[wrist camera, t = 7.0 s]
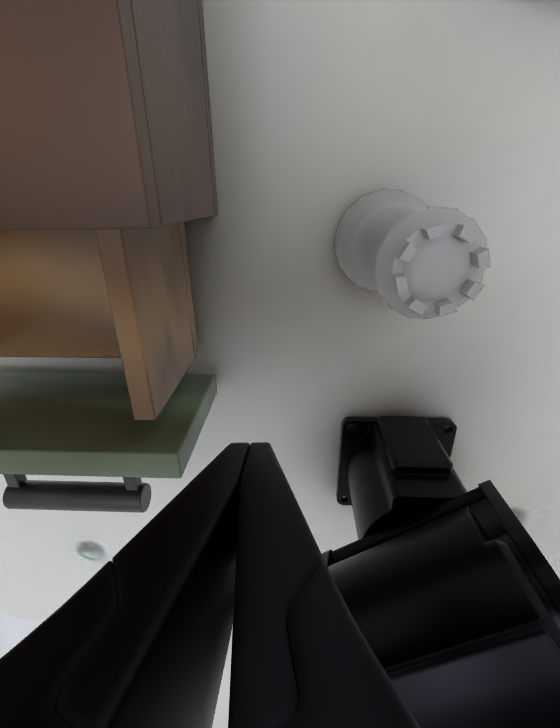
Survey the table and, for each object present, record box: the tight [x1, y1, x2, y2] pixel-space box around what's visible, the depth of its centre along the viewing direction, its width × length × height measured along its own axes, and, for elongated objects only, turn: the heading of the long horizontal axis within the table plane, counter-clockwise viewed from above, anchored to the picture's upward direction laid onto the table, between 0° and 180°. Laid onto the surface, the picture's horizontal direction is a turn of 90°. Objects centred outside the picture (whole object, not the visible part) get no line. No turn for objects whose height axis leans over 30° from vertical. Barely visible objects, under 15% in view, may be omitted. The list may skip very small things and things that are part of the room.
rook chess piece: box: [335, 189, 490, 319], centre depth 14 cm, size 4×4×8 cm
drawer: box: [0, 222, 217, 513], centre depth 15 cm, size 19×13×7 cm
